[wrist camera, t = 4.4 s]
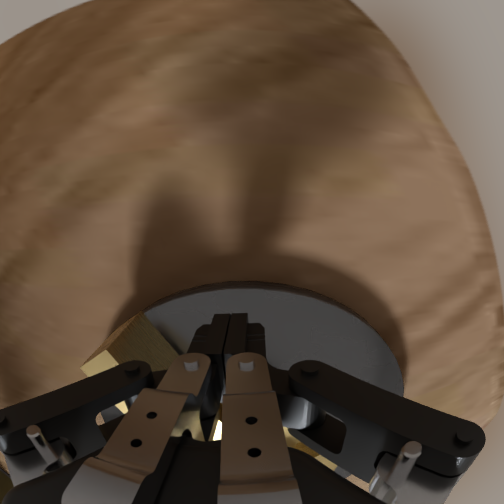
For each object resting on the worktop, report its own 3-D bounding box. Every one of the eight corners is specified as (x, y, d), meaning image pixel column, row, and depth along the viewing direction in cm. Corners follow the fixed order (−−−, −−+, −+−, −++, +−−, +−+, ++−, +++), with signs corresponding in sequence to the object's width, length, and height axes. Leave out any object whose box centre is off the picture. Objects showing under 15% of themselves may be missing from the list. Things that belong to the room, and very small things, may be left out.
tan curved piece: (350, 445, 16) (363, 487, 12) (233, 488, 17) (230, 526, 13) (202, 267, 13) (179, 299, 9) (79, 355, 15) (45, 391, 11)
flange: (224, 505, 21) (219, 554, 14) (59, 371, 17) (13, 420, 10) (423, 422, 18) (455, 474, 11) (299, 200, 14) (335, 206, 8)
